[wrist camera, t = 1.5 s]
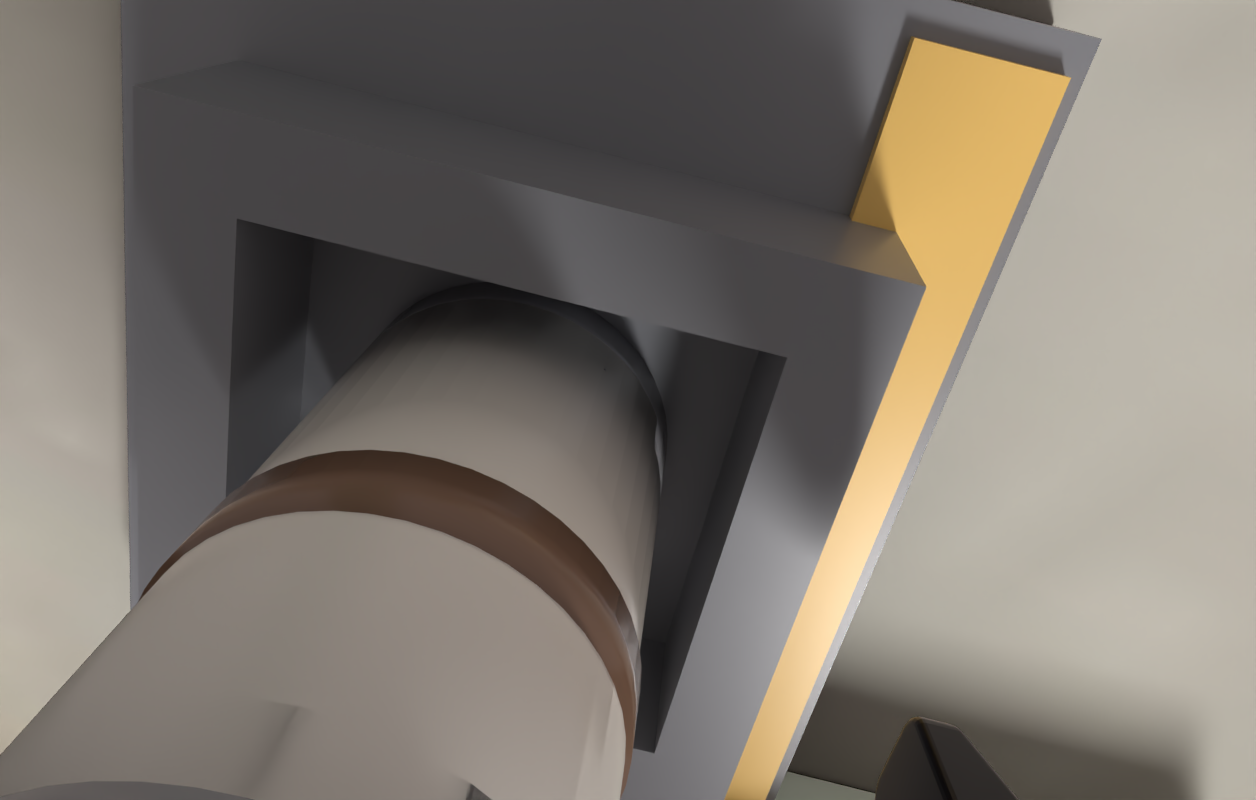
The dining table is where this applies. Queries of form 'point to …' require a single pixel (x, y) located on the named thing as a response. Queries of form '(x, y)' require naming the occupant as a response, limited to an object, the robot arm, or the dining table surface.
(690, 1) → the holder
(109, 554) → the dining table surface
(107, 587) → the dining table surface
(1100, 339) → the dining table surface
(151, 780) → the cylinder
